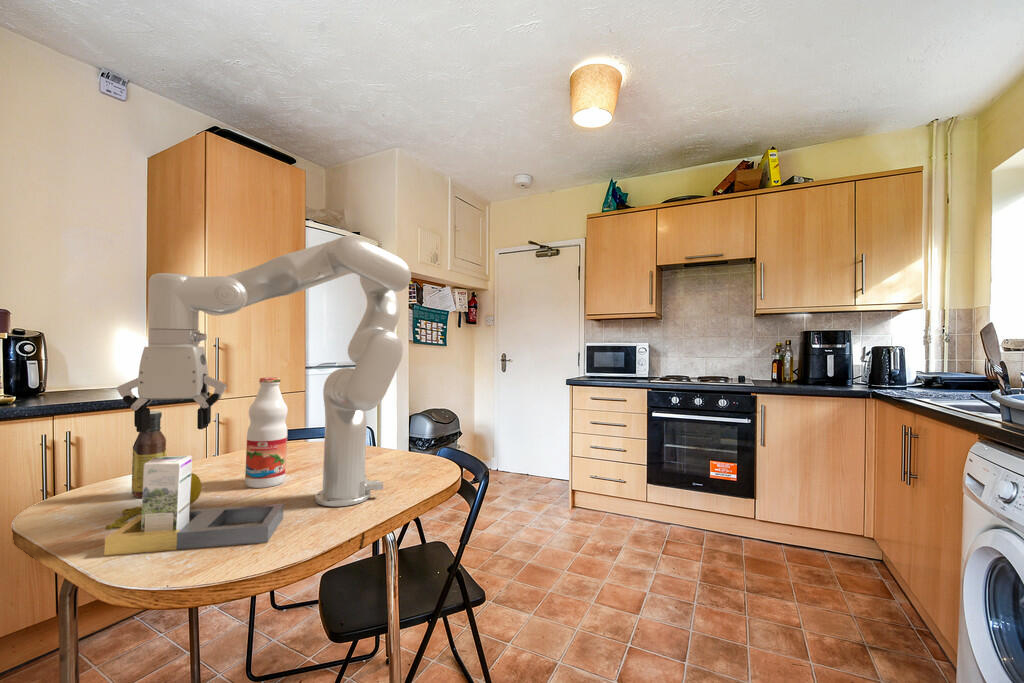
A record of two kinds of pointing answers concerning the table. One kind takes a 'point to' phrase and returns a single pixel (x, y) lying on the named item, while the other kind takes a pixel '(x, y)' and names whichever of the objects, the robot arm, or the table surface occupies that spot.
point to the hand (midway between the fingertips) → (173, 429)
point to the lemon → (195, 488)
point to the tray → (200, 530)
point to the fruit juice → (267, 437)
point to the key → (125, 517)
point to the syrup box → (166, 493)
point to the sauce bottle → (147, 451)
